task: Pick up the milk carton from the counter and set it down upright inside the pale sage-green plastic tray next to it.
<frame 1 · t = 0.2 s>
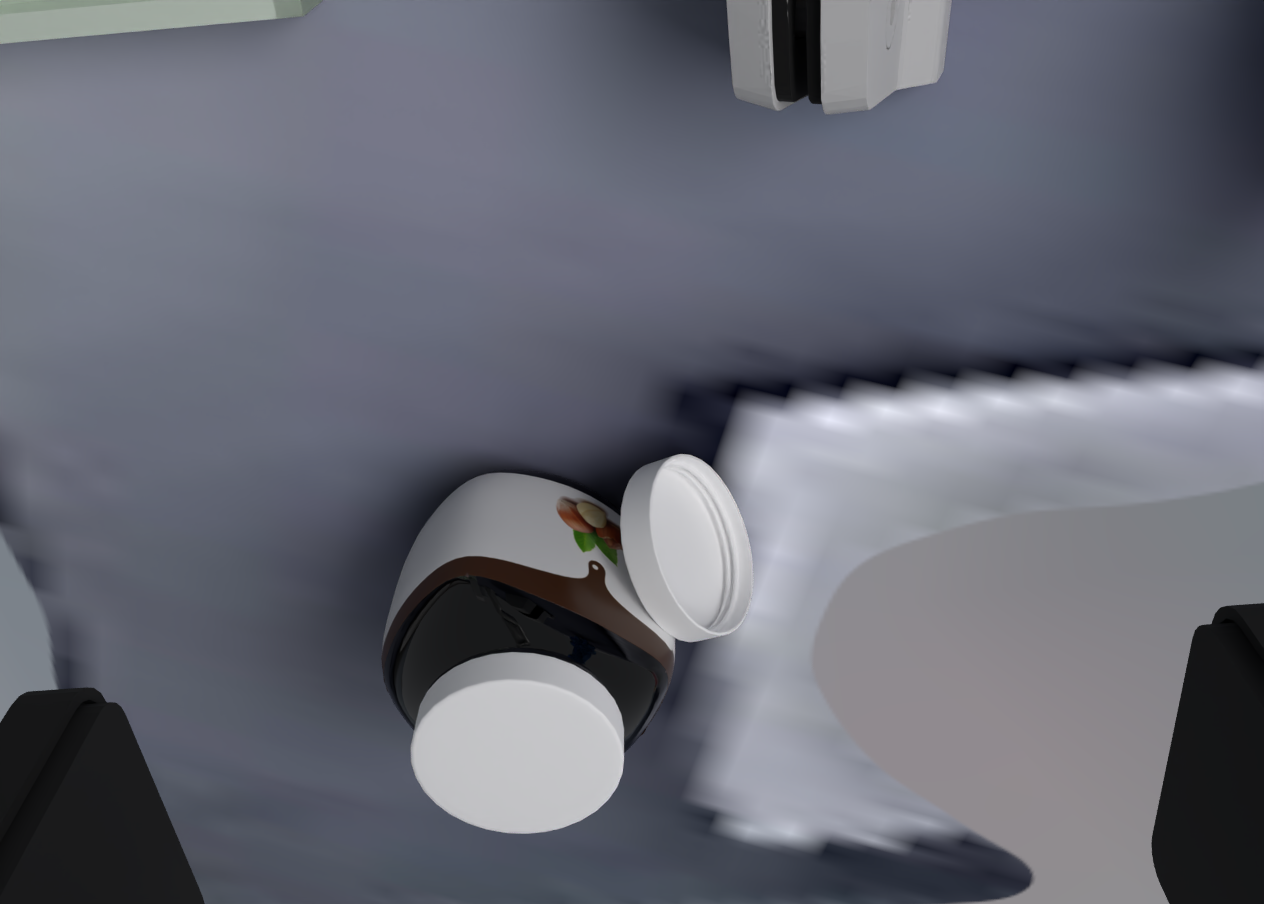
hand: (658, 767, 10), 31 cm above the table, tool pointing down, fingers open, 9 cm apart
spread jar: (584, 523, 47), on the table
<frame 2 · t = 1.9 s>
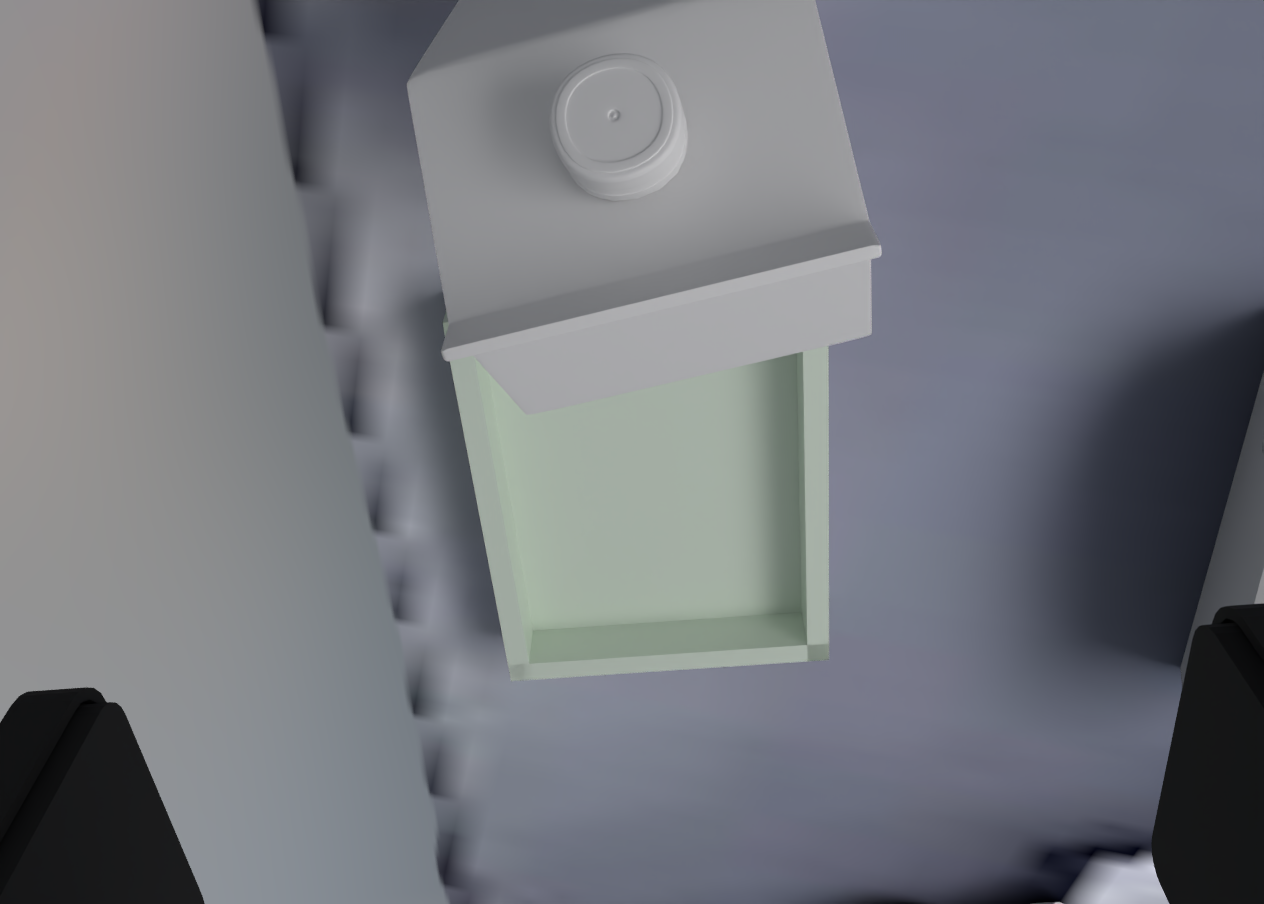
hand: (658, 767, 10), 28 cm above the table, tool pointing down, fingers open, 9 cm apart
tray: (652, 467, 42), on the table
grey piece: (1254, 495, 43), on the table
milk carton: (645, 34, 35), on the table
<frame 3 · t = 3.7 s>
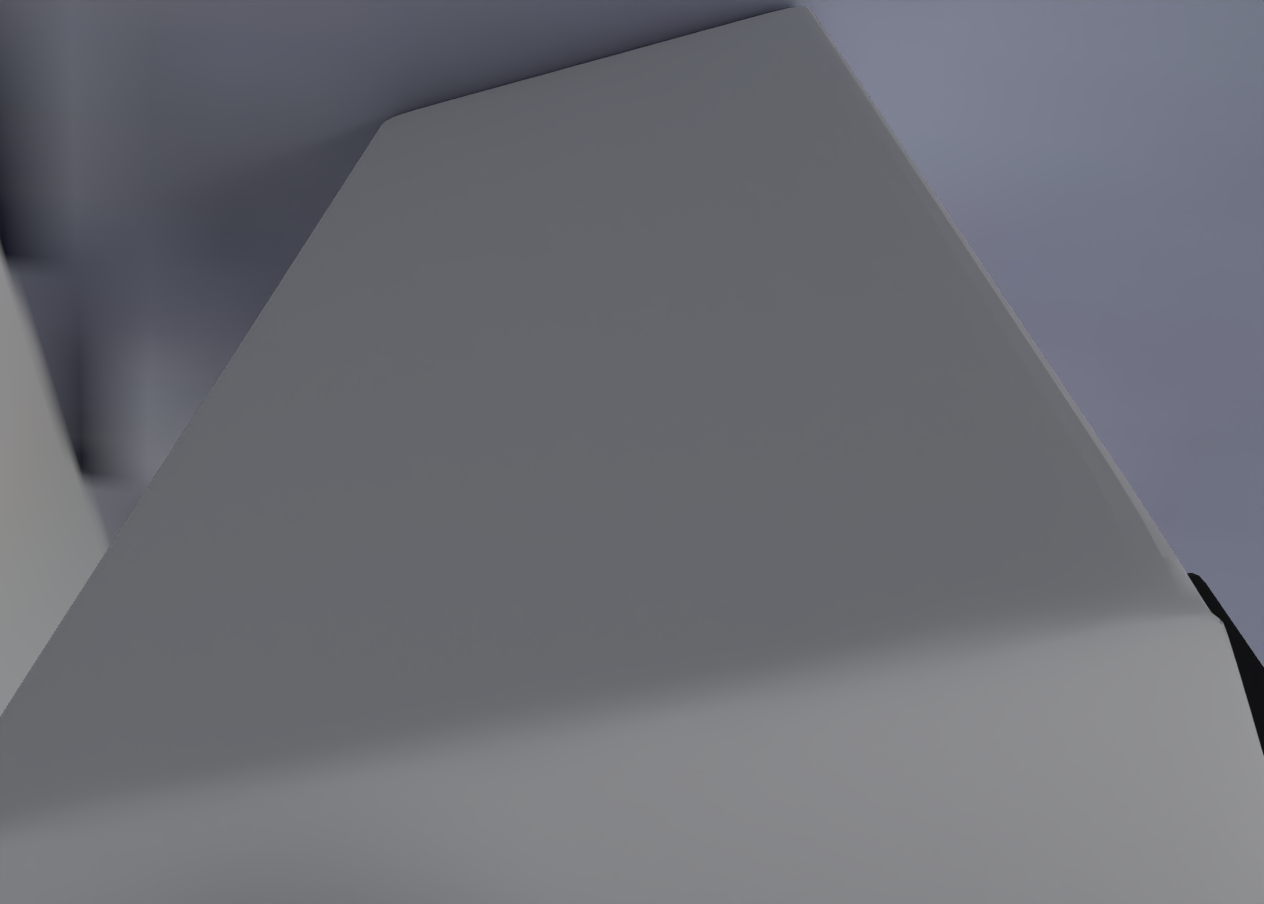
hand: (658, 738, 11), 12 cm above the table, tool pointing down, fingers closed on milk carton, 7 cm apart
milk carton: (644, 255, 21), on the table, touching gripper
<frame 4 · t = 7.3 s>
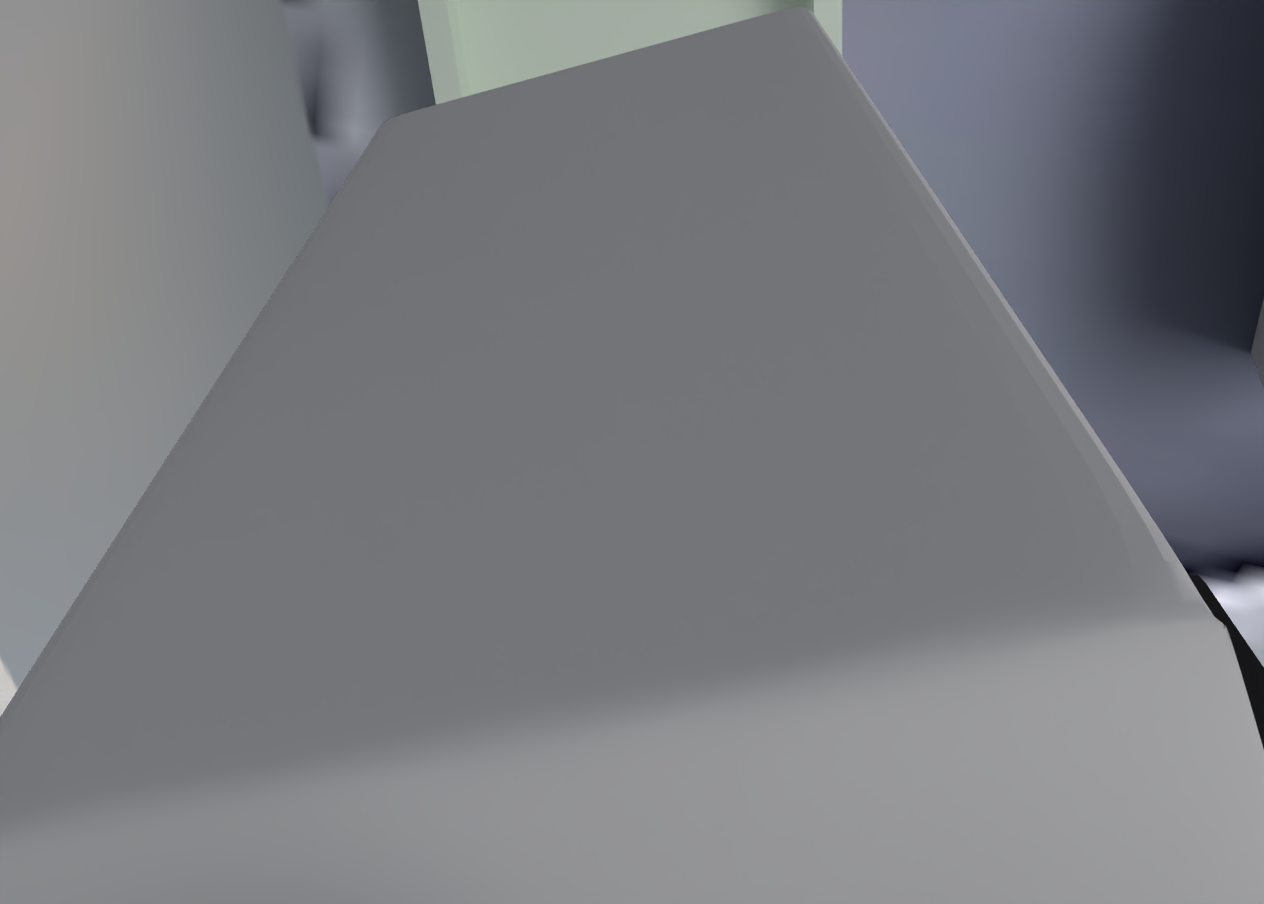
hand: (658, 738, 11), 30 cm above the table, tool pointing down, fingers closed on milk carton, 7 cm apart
tray: (634, 44, 36), on the table
milk carton: (644, 256, 21), point 18 cm above the table, touching gripper
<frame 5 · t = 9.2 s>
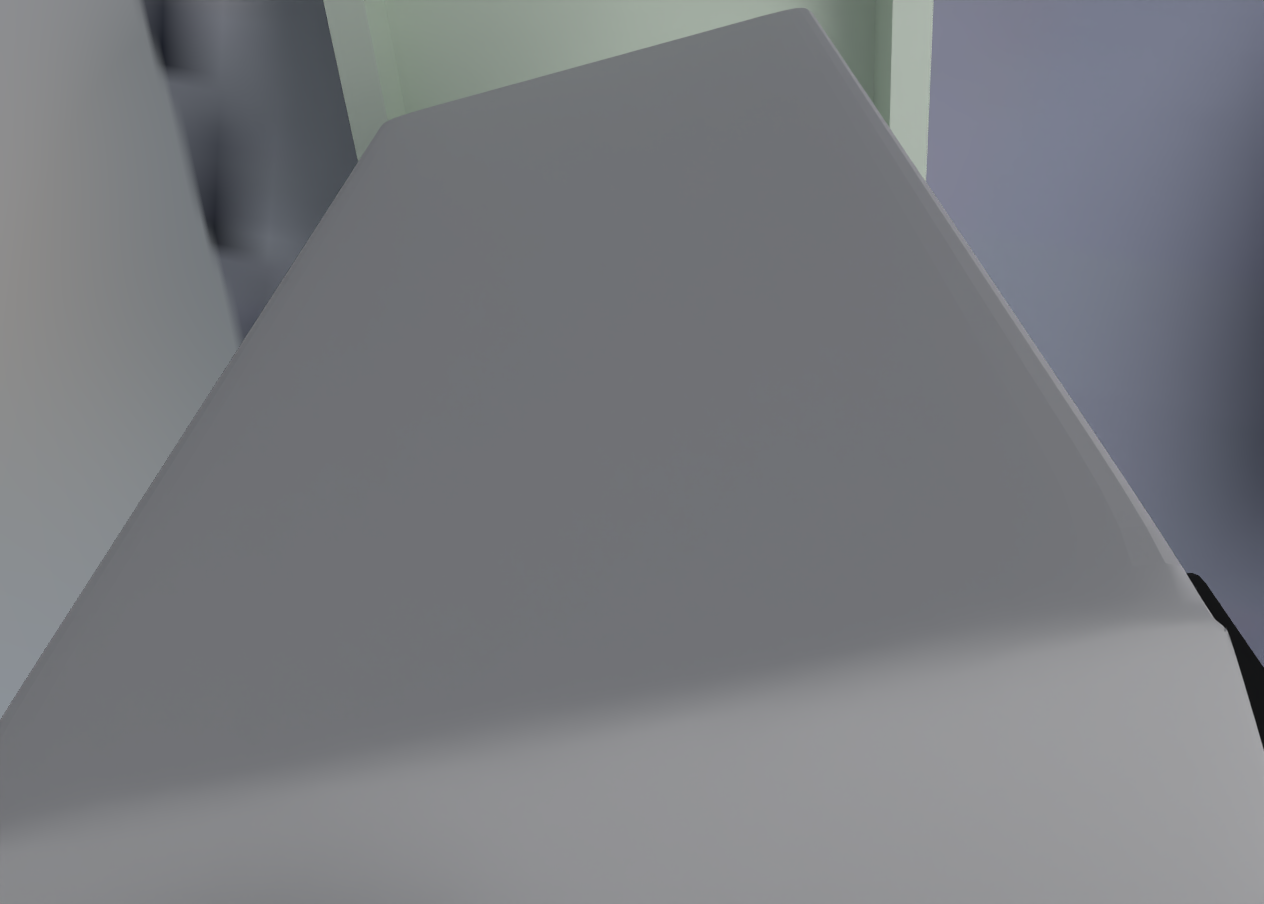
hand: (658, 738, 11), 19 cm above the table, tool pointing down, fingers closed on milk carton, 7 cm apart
tray: (641, 130, 27), on the table
milk carton: (644, 257, 21), point 7 cm above the table, touching gripper
when the fingers open (13 cm above the table, at t = 11.0 s): milk carton drops 1 cm, resting on tray.
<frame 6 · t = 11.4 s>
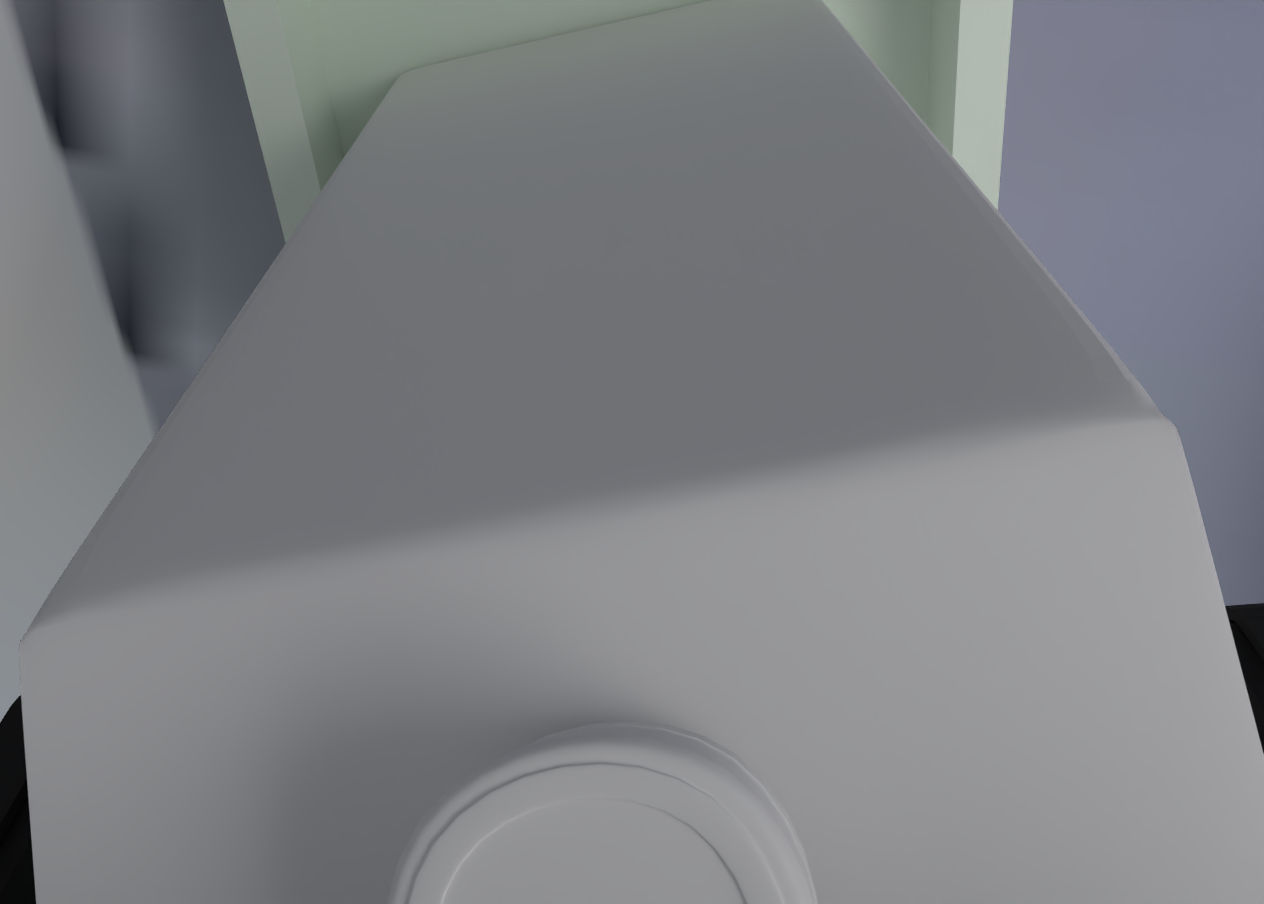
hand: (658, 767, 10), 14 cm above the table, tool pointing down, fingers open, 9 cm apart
tray: (641, 221, 22), on the table
milk carton: (642, 216, 22), resting on tray
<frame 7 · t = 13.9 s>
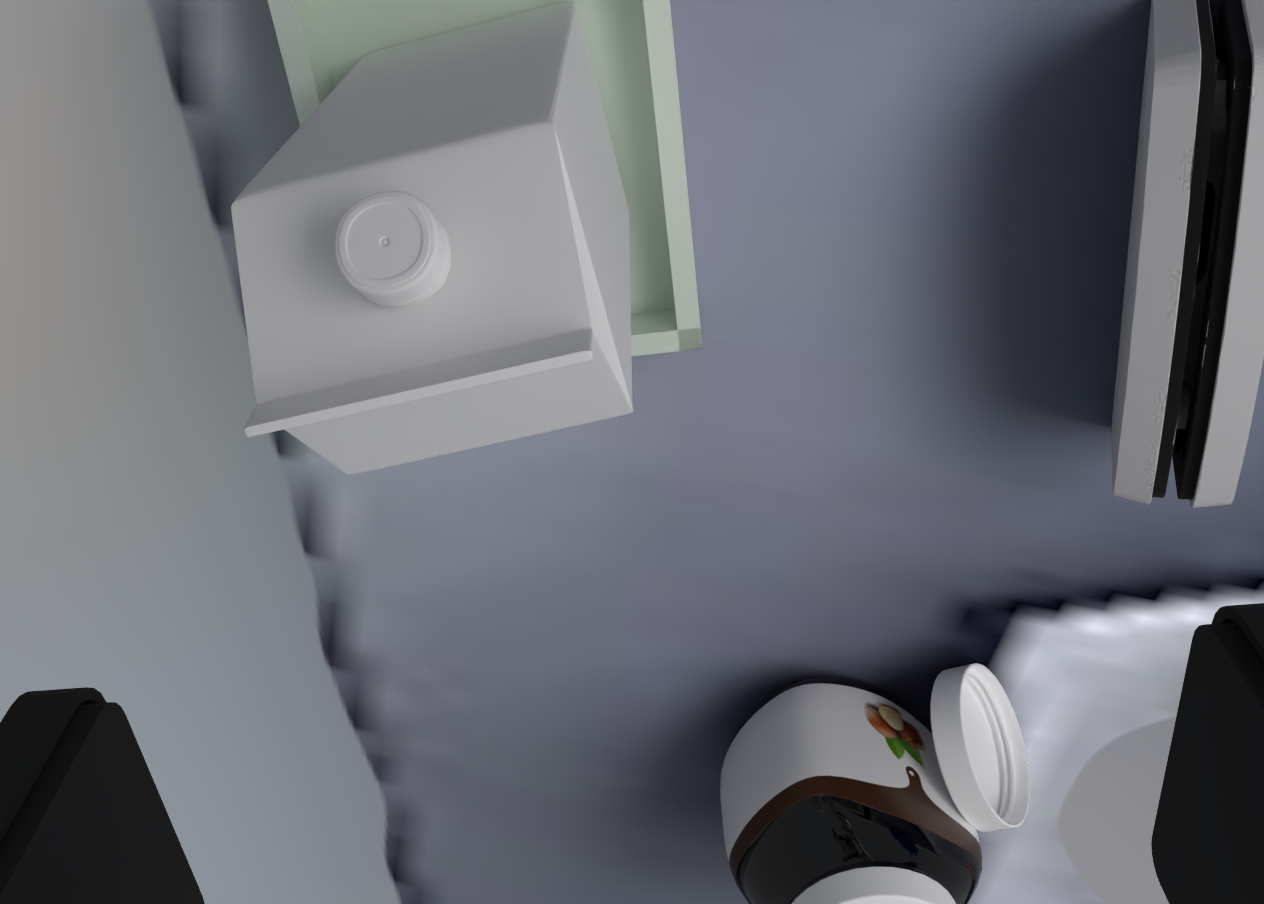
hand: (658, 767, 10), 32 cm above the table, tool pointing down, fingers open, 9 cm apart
spread jar: (868, 714, 53), on the table
tray: (503, 136, 40), on the table
grey piece: (1158, 223, 42), on the table
milk carton: (501, 132, 39), resting on tray
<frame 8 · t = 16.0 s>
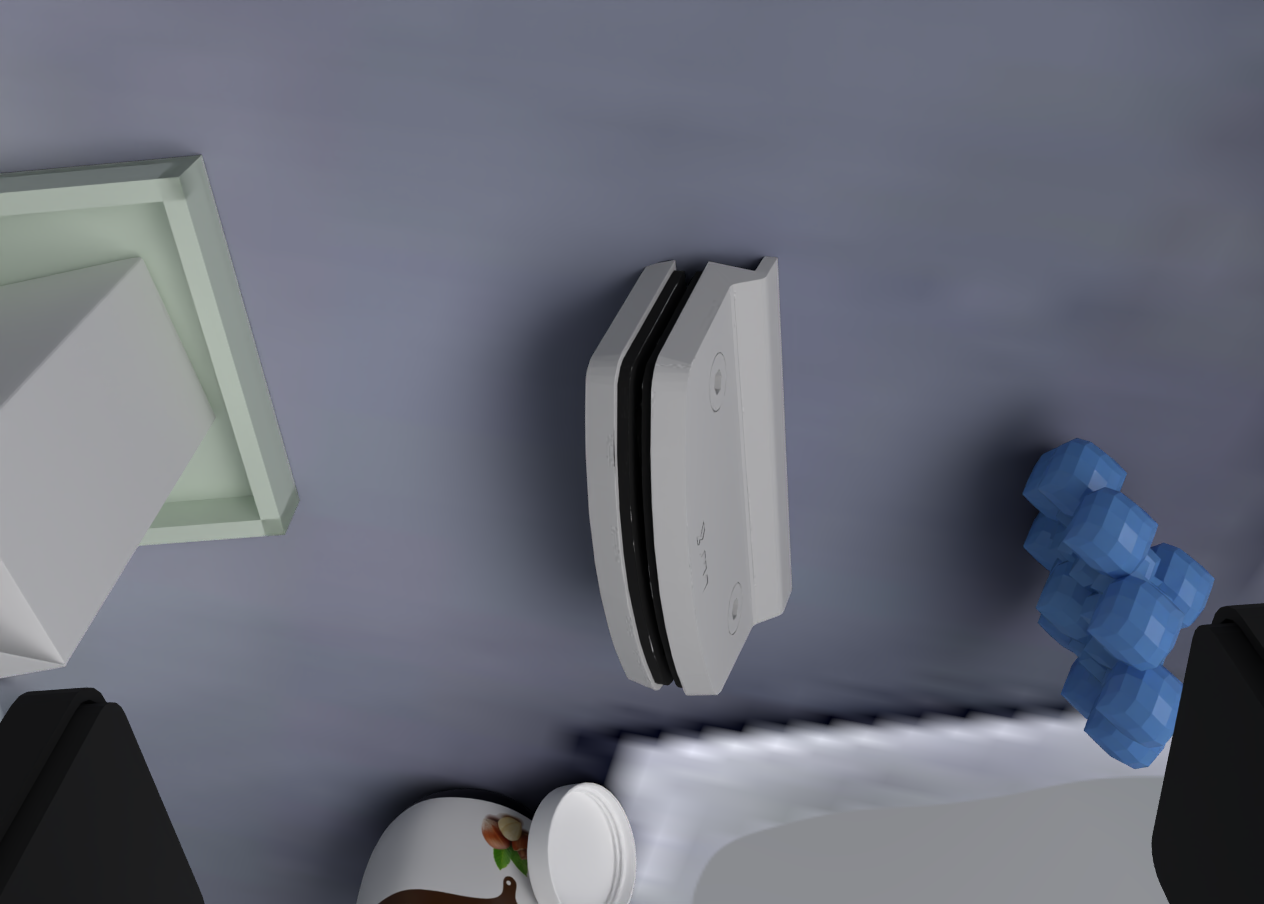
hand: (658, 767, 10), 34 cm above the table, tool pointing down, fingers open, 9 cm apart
spread jar: (508, 818, 61), on the table
tray: (105, 354, 46), on the table
grapes: (1072, 506, 51), on the table
grey piece: (691, 441, 49), on the table
milk carton: (100, 353, 46), resting on tray
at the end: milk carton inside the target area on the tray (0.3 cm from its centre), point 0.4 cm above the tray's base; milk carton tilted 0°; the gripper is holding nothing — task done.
